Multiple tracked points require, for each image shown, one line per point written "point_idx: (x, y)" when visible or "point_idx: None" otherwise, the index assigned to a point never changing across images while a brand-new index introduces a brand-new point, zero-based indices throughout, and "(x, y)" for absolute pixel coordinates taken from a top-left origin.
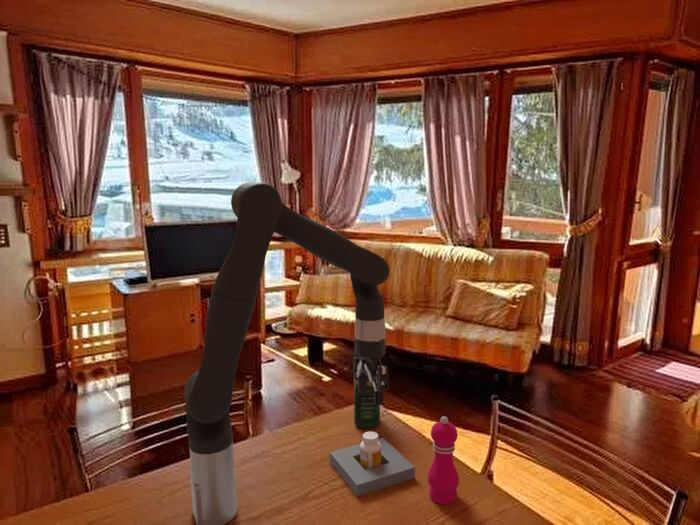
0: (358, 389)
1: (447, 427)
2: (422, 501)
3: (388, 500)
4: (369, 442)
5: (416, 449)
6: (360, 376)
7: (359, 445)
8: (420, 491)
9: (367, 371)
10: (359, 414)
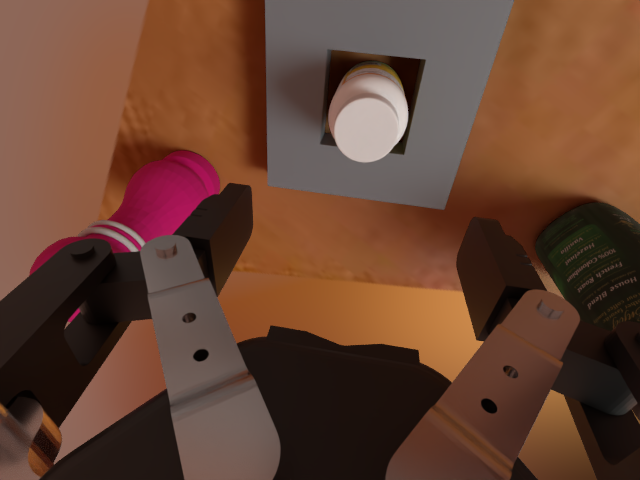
0: (491, 222)
1: None
2: (189, 128)
3: (222, 52)
4: (342, 106)
5: (374, 250)
6: (510, 310)
7: (464, 123)
8: (225, 149)
9: (225, 375)
10: (605, 230)
